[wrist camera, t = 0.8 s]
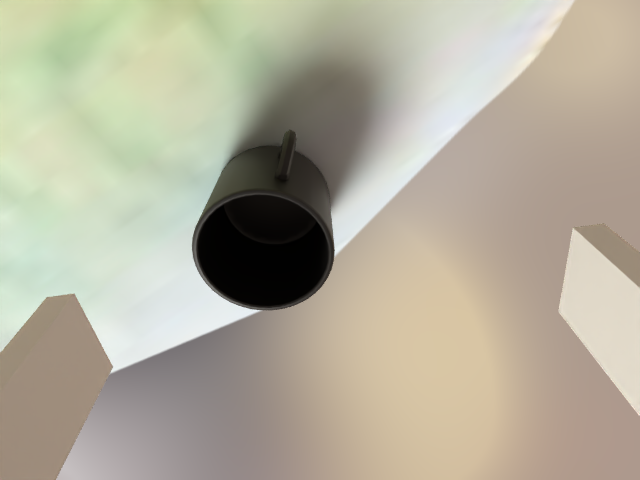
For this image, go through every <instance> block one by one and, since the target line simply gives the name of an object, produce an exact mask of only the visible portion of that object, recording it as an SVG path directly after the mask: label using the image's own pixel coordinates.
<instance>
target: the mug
mask: <svg viewBox="0 0 640 480" xmlns="http://www.w3.org/2000/svg"><path fill="white" fill-rule="evenodd" d="M295 145H296V134H295V132H294V131H292V130H289V131H287V132H286V133H285V135H284V139H283V142H282V146H281V147H278V146H262V147H256V148H253V149H249V150H247V151H245V152H243V153H241V154H239V155H238V156H236V157H235V158H233V159H232V160H231V161H230V162H229V163H228V164H227V166H226V167H225V168H224V170H223V171H222V173H221V175H220V177H219V179H218V181H217V183H216V185H215V187H214V190H213V192H212V194H211V196H210V198H209V200H208V202H207V204H206V206H205V208H204V210H203V213H202V215H201V217H200V219H199V221H198V223H197V225H196V228H195V231H194V234H193V240H192V251H193V258H194V262H195V265H196V267H197V270H198V272H199V274H200V275H201V277H202V278H203V280H204V281H205V282H206V284H207V285H208V286H209V287H210V288H211V289H212V290H213V291H214V292H216V293H217V294H218V295H219V296H221V297H222V298H224V299H226V300H228V301H229V302H231V303H234V304H236V305H239V306H242V307H246V308H249V309H256V310H277V309H283V308H287V307H291V306H294V305H296V304H298V303H301V302H303V301H305V300H306V299H308V298H309V297H311V296H312V295H313V294H315V293H316V292H317V291H318V290H319V289H320V288H321V287H322V285H323V284H324V282H325V281H326V279H327V278H328V276H329V274H330V271H331V269H332V265H333V261H334V251H335V250H334V239H333V229H332V219H331V209H330V198H329V191H328V187H327V183H326V181H325V179H324V177H323V175H322V173H321V172H320V171H319V169H318V168H317V167H316V166H315V165H314V164H313V163H312V162H311V161H310V160H309V159H308V158H306V157H305V156H304V155H302V154H300V153H298V152H296V151H295Z"/></svg>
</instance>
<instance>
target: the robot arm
mask: <svg viewBox="0 0 640 480" xmlns="http://www.w3.org/2000/svg"><path fill="white" fill-rule="evenodd" d="M559 313H560V314H561V315H562V317H563V318H564V319H565V320H566V322H567V323H568V324H569V326H570V327H571V328H572V330H573V331H574V332H575V334H576V335H577V336H578V337H579V339H580V340H581V341H582V342H583V344H584V345H585V346H586V348H587V349H588V350H589V352H590V353H591V354H592V355H593V356H594V358H595V359H596V361H597V362H598V363H599V364H600V366H601V367H602V368H603V370H604V371H605V372H606V373H607V375H608V376H609V377H610V379H611V380H612V381H613V383H614V384H615V385H616V386H617V388H618V389H619V390H620V392H621V393H622V394H623V396H624V397H625V398H626V399H627V401H628V402H629V403H630V405H631V406H632V407H633V408H634V410H635V411H636V412H637V413H638V415H639V416H640V252H639V251H638V250H636V249H635V248H634V247H632V246H631V245H630V244H629V243H628V242H626V241H625V240H624V239H622V238H621V237H620V236H619V235H618V234H616V233H615V232H614V231H612V230H611V229H610V228H609V227H608V226H606V225H605V224H597V225H589V226H581V227H574V228H573V231H572V237H571V242H570V248H569V254H568V260H567V266H566V272H565V278H564V283H563V289H562V295H561V301H560V307H559ZM112 368H113V366H112V364H111V362H110V360H109V359H108V357H107V355H106V353H105V351H104V349H103V347H102V345H101V343H100V341H99V340H98V338H97V336H96V334H95V332H94V330H93V328H92V326H91V324H90V322H89V321H88V319H87V317H86V315H85V313H84V311H83V309H82V307H81V305H80V304H79V302H78V300H77V298H76V296H75V294H68V295H61V296H53V297H47V298H46V299H45V300H44V301H43V302H42V304H41V305H40V306H39V307H38V309H37V310H36V311H35V312H34V313H33V315H32V316H31V317H30V318H29V319H28V321H27V322H26V323H25V324H24V325H23V327H22V328H21V329H20V330H19V331H18V333H17V334H16V335H15V336H14V337H13V339H12V340H11V341H10V342H9V343H8V345H7V346H6V347H5V348H4V349H3V351H2V352H1V353H0V480H56V478H57V476H58V474H59V472H60V470H61V468H62V466H63V464H64V462H65V460H66V458H67V456H68V455H69V453H70V451H71V449H72V446H73V445H74V443H75V441H76V439H77V437H78V435H79V433H80V431H81V429H82V427H83V425H84V423H85V421H86V419H87V417H88V415H89V413H90V411H91V409H92V407H93V405H94V403H95V401H96V399H97V397H98V395H99V393H100V391H101V389H102V387H103V385H104V383H105V381H106V380H107V377H108V376H109V374H110V372H111V370H112Z"/></svg>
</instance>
